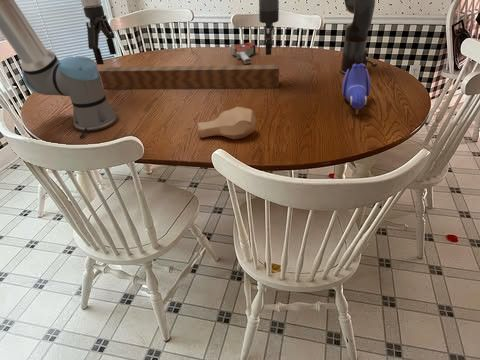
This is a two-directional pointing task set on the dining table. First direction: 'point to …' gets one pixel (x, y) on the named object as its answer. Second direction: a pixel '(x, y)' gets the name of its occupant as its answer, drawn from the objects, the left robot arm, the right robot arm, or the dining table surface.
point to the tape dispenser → (243, 51)
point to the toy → (356, 86)
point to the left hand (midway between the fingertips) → (107, 59)
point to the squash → (230, 124)
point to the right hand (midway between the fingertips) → (269, 51)
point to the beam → (190, 77)
